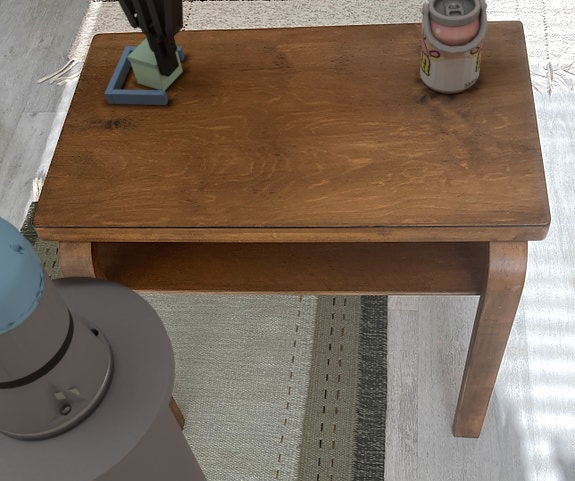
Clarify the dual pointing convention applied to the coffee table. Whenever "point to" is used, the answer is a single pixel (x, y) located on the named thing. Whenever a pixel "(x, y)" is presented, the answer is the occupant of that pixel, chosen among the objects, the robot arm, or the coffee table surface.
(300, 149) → the coffee table surface
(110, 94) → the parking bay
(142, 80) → the toy box
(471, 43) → the beverage can
